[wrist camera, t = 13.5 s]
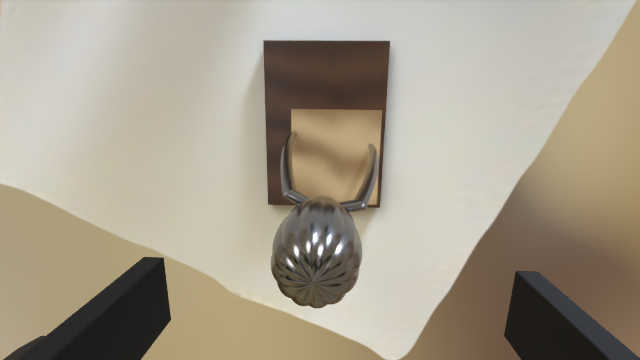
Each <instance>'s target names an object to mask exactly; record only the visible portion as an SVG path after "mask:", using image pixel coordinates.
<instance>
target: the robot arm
mask: <svg viewBox="0 0 640 360" xmlns="http://www.w3.org/2000/svg"><path fill="white" fill-rule="evenodd" d="M170 320H171V316H170V308H169V300H168V291H167V283H166V275H165V266H164V258H156V257H154V258H153V257H143V258H142V259H141V260H140V261H139V262H137V263H136V264H135V265H134V266H132V267H131V268H130V269H129V270H127V271H126V272H125V273H124V274H122V275H121V276H120V277H119V278H117V279H116V280H115V281H114V282H113V283H111V284H110V285H109V286H107V287H106V288H105V289H104V290H103V291H101V292H100V293H99V294H98V295H96V296H95V297H94V298H93V299H91V300H90V301H89V302H88V303H87V304H85V305H84V306H83V307H81V308H80V309H79V310H78V311H76V312H75V313H74V314H73V315H72V316H70V317H69V318H68V319H67V320H65V321H64V322H63V323H62V324H60V325H59V326H58V327H57V328H55V329H54V330H53V331H52V332H50V333H49V334H48V335H47V336H40V337H39V338H37V339H35V340H33V341H31V342H29V343H27V344H26V345H24V346H22V347H20V348H18V349H17V350H15V351H14V352H13V353H11V354H10V355H9V356H8V357H6V358H5V359H4V360H141V358H142V357H143V356H144V354H145V353H146V352H147V350H148V349H149V348H150V347H151V345H152V344H153V343H154V341H155V340H156V339H157V337H158V336H159V335H160V333H161V332H162V331H163V329H164V328H165V327H166V326H167V324H168V323H169V322H170ZM504 336H505V337H506V339H507V340H508V342H509V343H510V344H511V346H512V347H513V349H514V350H515V351H516V353H517V354H518V356H519V357H520V358H521V360H640V358H639V357H638V356H636V355H635V354H634V353H633V352H632V351H630V350H629V349H628V348H627V347H626V346H625V345H624V344H622V343H621V342H620V341H619V340H617V339H616V338H615V337H614V336H613V335H611V333H609V332H608V331H607V330H606V329H605V328H603V327H602V326H601V325H600V324H599V323H598V322H596V321H595V320H594V319H593V318H592V317H590V316H589V315H588V314H587V313H586V312H585V311H583V310H582V309H581V308H580V307H579V306H577V305H576V304H575V303H574V302H573V301H571V300H570V299H569V298H568V297H567V296H566V295H564V294H563V293H562V292H561V291H560V290H559V289H557V288H556V287H555V286H554V285H553V284H552V283H550V282H549V281H548V280H547V279H546V278H544V277H543V276H542V275H541V274H540V273H538V272H528V271H516V273H515V279H514V285H513V290H512V296H511V301H510V306H509V312H508V317H507V323H506V328H505V334H504Z"/></svg>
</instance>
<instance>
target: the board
mask: <svg viewBox="0 0 640 360" xmlns="http://www.w3.org/2000/svg"><path fill="white" fill-rule="evenodd" d="M389 48H390V41H264V74H265V109H266V144H267V179H268V204H269V205H298V204H296V203H294V202H292V201H291V200H289V199H287V198H285V197H284V196H283V193H282V184H281V154H282V149H283V146H284V143H285V141H286V139H287V137H288V136H289V135H290V134H291V133H292V132H293V131H295V132H296V133H297V136H296V138H295V140H294V143H293V148H292V168H293V176H294V181H295V185H296V189H297V191H299V192H301V193H303V194H304V195H306V196H308V197H310V198H313V197H315V196H319V195H322V196H328V197H331V198H333V199H334V200H335V201H337V202H343V201H348V200H354V198H355V196H356V195H357V193H358V191H359V189H360V187H361V185H362V183H363V180H364V178H365V175H366V172H367V168H368V164H369V148H368V145H369V144H373V145H374V146H375V148H376V151H377V154H378V160H379V167H378V175H377V179H376V183H375V186H374V189H373V192H372V195H371V198H370V200H369V203H368V205H367V207H374V208H380V196H381V180H382V163H383V147H384V130H385V114H386V97H387V81H388V64H389Z"/></svg>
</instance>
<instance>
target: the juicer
mask: <svg viewBox="0 0 640 360" xmlns="http://www.w3.org/2000/svg"><path fill="white" fill-rule="evenodd" d="M296 136H297V133H296V132H295V131H293V132H292V133H291V134H290V135H289V136H288V137H287V139H286V141H285V143H284V146H283V149H282V154H281V184H282V193H283V196H284V197H285V198H287V199H289V200H291V201H292V202H294V203H296V204H298V205H297V206H296V207H294V208H293V210H292V211H291V212H290V214H289V215H288V216H287V217H286V218H285V219H284V220H283V222H282V223H281V224H280V226H279V228H278V230H277V232H276V234H275V237H274V241H273V249H272V251H273V252H272V256H271V270H272V274H273V276H274V278H275V280H276V281H277V284H278V287H279V289H280V291H281V292H282V293H283V294H284V295H285V296H287V297H289V298H291V299H292V300H293V301H294V302H295V303H296V304H298V305H300V306H308V305H309V306H311V307H313V308H322V307H324V306H326V305H327V304H335V303H338V302H339V301H340V300H342V298H343V297H344V296H345V294H346V293H347V292H349V291H350V290H351V289H352V288H353V287H354V285H355V284H356V281H357V279H358V275H359V267H360V265H361V260H362V244H361V239H360V236H359V234H358V231H357V229H356V226H355V223H354V221H353V218H352V217H351V215H350V213H349V212H355V211H361V210H365V209H366V207H367V205H368V203H369V200H370V198H371V195H372V192H373V189H374V186H375V183H376V179H377V175H378V167H379V160H378V154H377V151H376V148H375V146H374V145H373V144H369V145H368V148H369V164H368V168H367V172H366V175H365V178H364V180H363V183H362V185H361V187H360V189H359V191H358V193H357V195H356V196H355V198H354V200H348V201H343V202H337V201H335V200H334V199H333V198H331V197H328V196H322V195H319V196H315V197H313V198H310V197H308V196H306V195H304V194H303V193H301V192H299V191H297V189H296V185H295V181H294V176H293V168H292V148H293V143H294V140H295V138H296Z"/></svg>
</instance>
